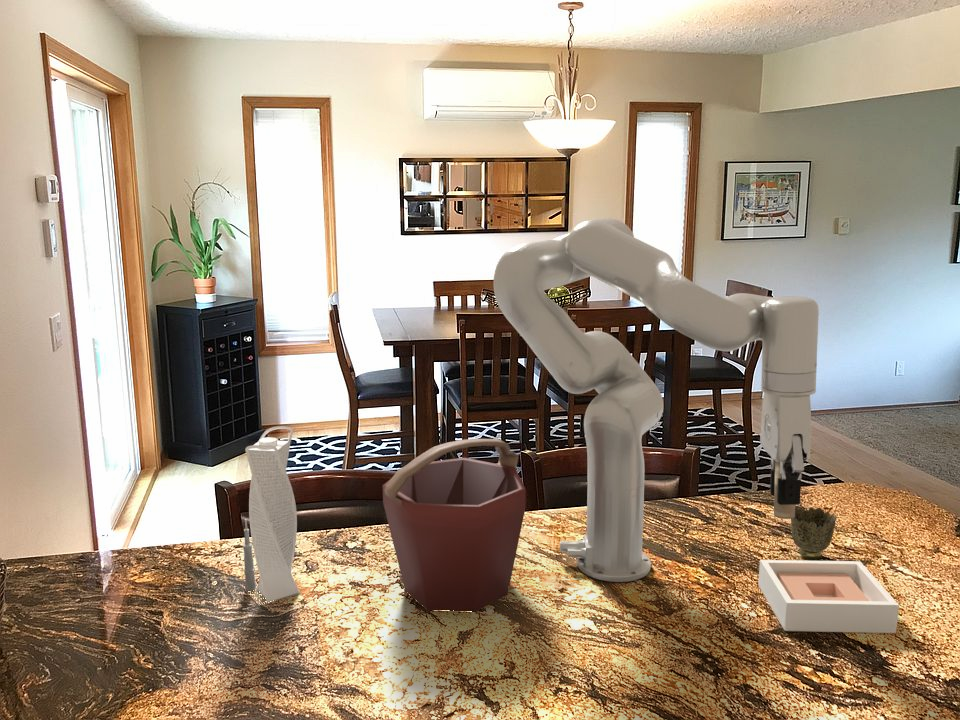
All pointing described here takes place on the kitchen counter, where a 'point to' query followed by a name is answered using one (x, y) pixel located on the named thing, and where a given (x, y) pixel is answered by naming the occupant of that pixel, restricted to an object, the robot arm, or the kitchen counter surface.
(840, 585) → the bored plate
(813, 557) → the cup
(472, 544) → the bucket
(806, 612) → the open-top box
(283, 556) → the skyscraper
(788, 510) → the birch peg
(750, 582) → the kitchen counter surface
